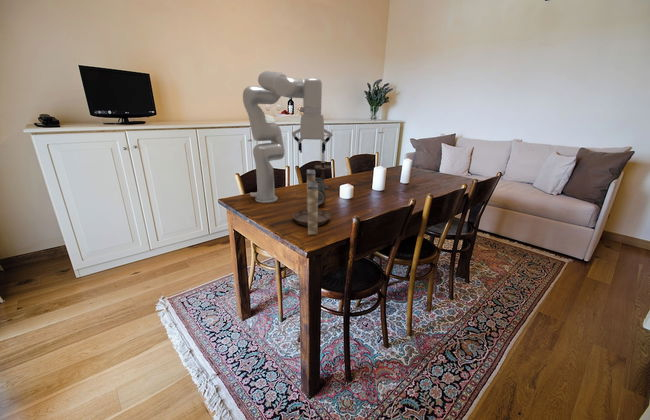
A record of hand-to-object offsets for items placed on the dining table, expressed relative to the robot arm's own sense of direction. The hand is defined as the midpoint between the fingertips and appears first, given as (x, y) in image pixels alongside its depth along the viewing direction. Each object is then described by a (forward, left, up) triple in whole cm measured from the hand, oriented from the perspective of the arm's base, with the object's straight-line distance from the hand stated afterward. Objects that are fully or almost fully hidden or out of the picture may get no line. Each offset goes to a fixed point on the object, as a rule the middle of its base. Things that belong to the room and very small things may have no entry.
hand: (311, 152), depth 123 cm
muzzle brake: (+4, +31, -32) cm, 45 cm away
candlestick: (+9, +56, -32) cm, 65 cm away
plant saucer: (0, 0, -33) cm, 33 cm away
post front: (0, -12, -32) cm, 34 cm away
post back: (0, +12, -32) cm, 34 cm away
